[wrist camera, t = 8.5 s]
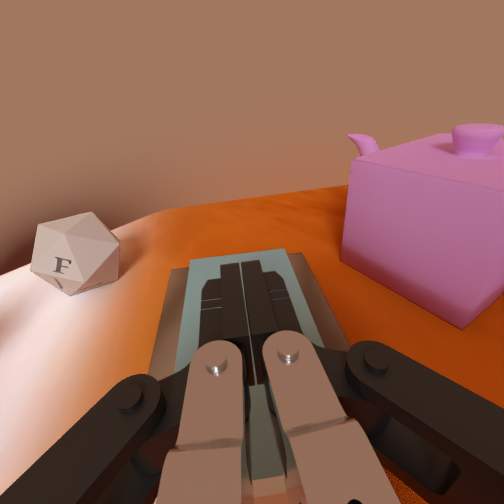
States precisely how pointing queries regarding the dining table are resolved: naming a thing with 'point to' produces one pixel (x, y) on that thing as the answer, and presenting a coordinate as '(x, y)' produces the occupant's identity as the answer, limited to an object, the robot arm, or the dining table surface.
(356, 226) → the teapot
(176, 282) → the board
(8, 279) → the dining table surface
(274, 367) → the robot arm
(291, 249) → the dining table surface
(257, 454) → the pillar
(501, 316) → the dining table surface
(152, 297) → the dining table surface
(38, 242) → the die
